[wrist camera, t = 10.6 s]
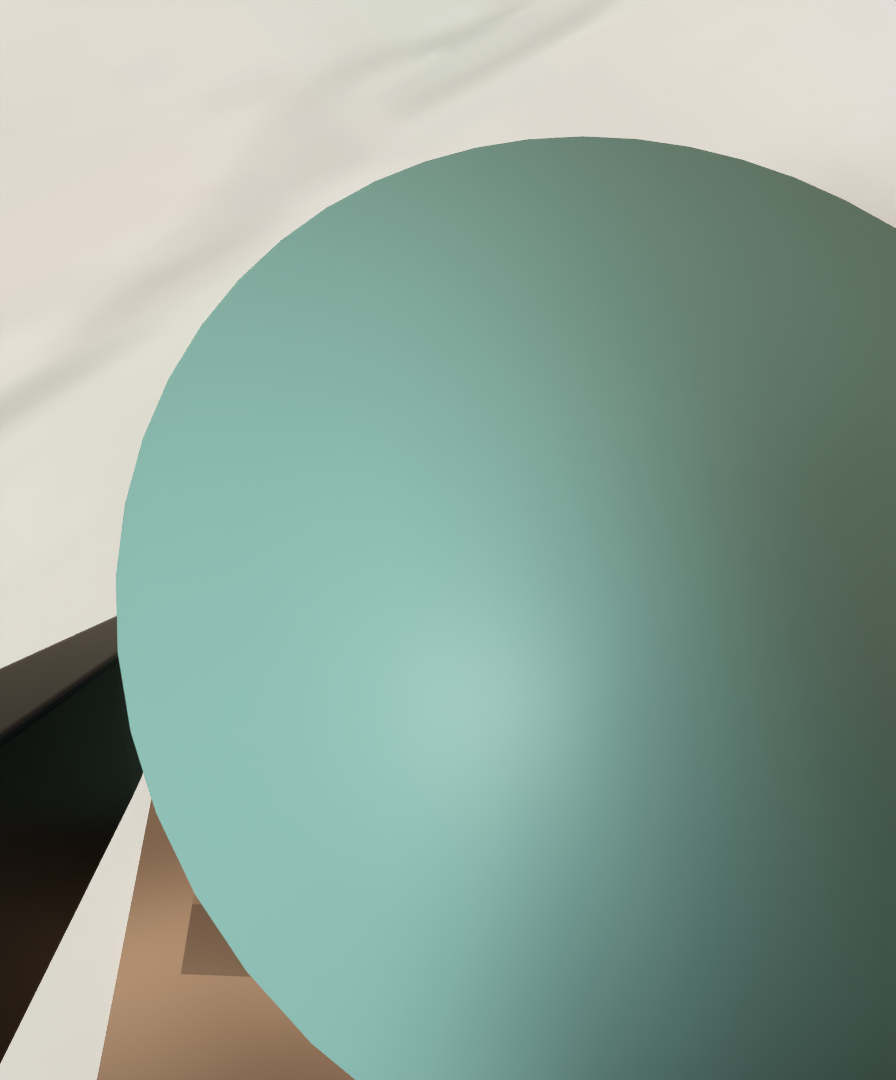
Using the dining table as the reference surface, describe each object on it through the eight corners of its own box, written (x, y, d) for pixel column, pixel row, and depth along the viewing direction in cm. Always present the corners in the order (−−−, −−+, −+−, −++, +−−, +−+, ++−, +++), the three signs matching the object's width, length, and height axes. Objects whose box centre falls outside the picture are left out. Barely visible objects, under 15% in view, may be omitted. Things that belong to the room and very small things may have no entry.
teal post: (605, 687, 18) (1257, 407, 4) (493, 911, 16) (1082, 1600, 2) (411, 569, 18) (483, 17, 5) (279, 770, 16) (-168, 712, 3)
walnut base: (740, 1377, 14) (846, 1555, 11) (63, 1376, 13) (-41, 1568, 10) (680, 512, 21) (733, 462, 18) (230, 473, 20) (200, 413, 17)
